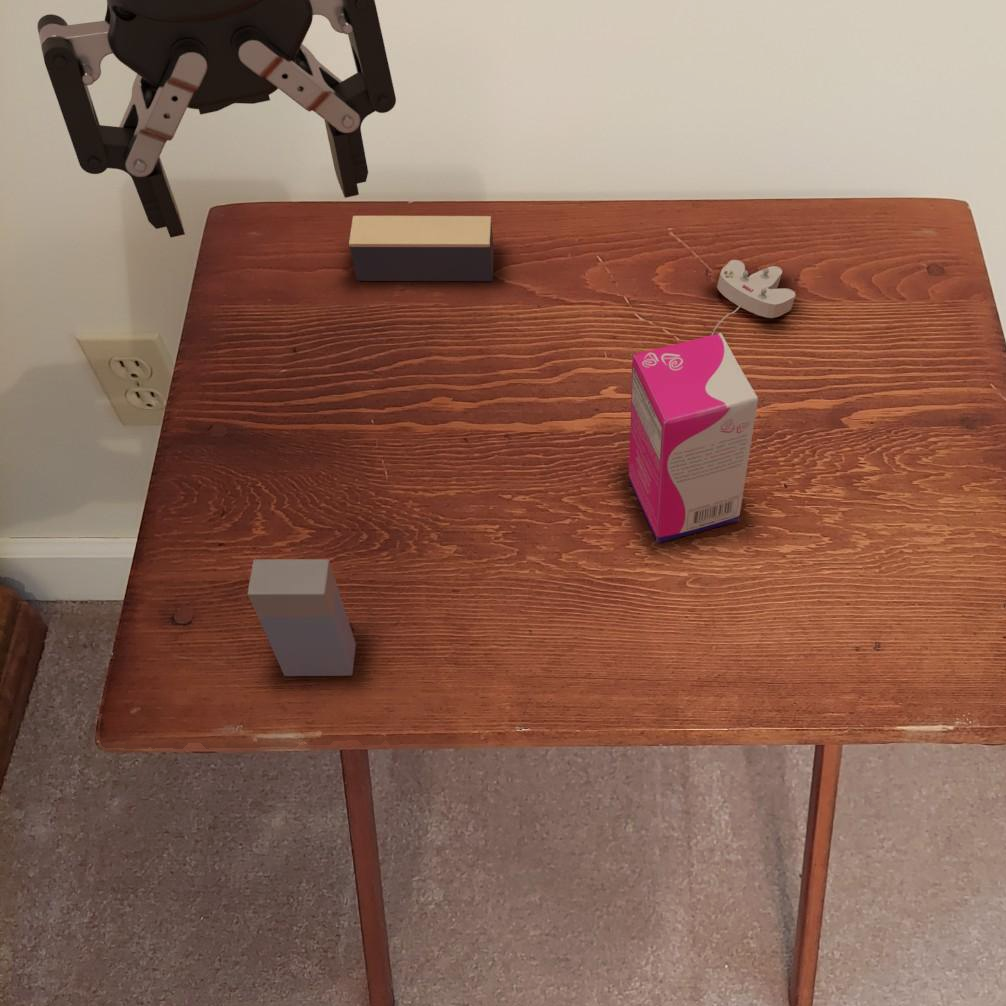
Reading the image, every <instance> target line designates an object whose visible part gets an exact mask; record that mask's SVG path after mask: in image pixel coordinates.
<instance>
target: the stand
mask: <svg viewBox="0 0 1006 1006" xmlns="http://www.w3.org/2000/svg"><path fill="white" fill-rule="evenodd" d="M348 246H349V250H350V255H351V260H352V264H353V270H354V275H355V279H356V281H357V282H493V279H494V278H493V277H494V260H495V249H494V248H495V247H494V237H493V222H492V216H491V215H352V221H351V226H350V233H349V241H348Z"/></svg>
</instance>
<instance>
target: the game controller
mask: <svg viewBox="0 0 1006 1006" xmlns="http://www.w3.org/2000/svg"><path fill="white" fill-rule="evenodd" d="M782 275H783V269H782V268H781V267H779V266H777V265H772V266H768V267H765V268H763V269H761V270H759V271H756V272H754V273H752V274H750V275H749V271H748V270H746V266H745V263H744V262H743V261H742V260H738V259H731V260H729V261H728V263H726V264H725V265H724V266H723V267H722V269H721V271H720V273H719V277H718V280H717V281H718V282H717V285H716V288H717V290H718V291H719V293H720V294H721V295H722V296H723V297H724V298H726V300H727V299H728V300H729V302H731V303H733V304H734V305H736V306H738V307H737V308H735V310H734V311H732V312H728V313H726V315H724V316H723V317H722V318H721V319H720V321H718V323H717V324H716V325H715V327H714V328H713V330H712V333H711V335H715V331H716V329H717V328H718V327H719V326H720V324H721V323H722V322H723V321H724V320H725V319H726V318H727V317H728V316H730V315H733V314H735V313H736V312H737V311H738V310H739V309H740V308H742V309H744V310H745V311H747V312H749V313H752V314H754V315H756V316H759V317H764V318H767V319H775V318H778V317H781V316H783V315H784V314H787V313H788V312H790V311H792V308H793V305H794V301H795V298H796V293H795V291H794V290H793V289H790V288H778V287H779V284H780V281H781V277H782Z"/></svg>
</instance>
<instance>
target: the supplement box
mask: <svg viewBox="0 0 1006 1006" xmlns="http://www.w3.org/2000/svg"><path fill="white" fill-rule="evenodd" d="M630 388H631V390H630V391H631V393H630V425H629V426H630V428H629V453H628V454H629V455H628V456H629V457H628V479H629V482H630V484H631V486H632V489H633V491H634V494H635V496H636V498H637V500H638V502H639V505H640V507H641V510H642V512H643V514H644V516H645V519H646V521H647V523H648V525H649V527H650V530H651V532H652V534H653V536H654V539H655V541H656V542H657V543H664V542H667V541H668V542H669V541H671V540H675V539H679V538H682V537H686V536H689V535H694V534H697V533H700V532H703V531H708V530H711V529H715V528H718V527H722V526H725V525H729V524H732V523H733V524H734V523H737V522H739V521H740V516H741V512H742V511H741V510H742V503H743V496H744V491H745V486H746V479H747V472H748V467H749V460H750V453H751V447H752V441H753V433H754V427H755V421H756V416H757V410H758V404H759V402H758V401H759V397H758V395H757V394H756V392H755V390H754V389H753V387H752V385H751V383H750V382H749V380H748V378H747V376H746V374H745V373H744V371H743V369H742V368H741V366H740V364H739V363H738V360H737V359H736V357H735V355H734V353H733V352H732V350H731V348H730V346H729V344H728V342H727V340H726V339H725V337H724V335H723V333H722V332H718V333H714V334H713V335H712V334H710V335H707V336H702V337H698V338H695V339H691V340H687V341H682V342H678V343H676V344H670V345H667V346H662V347H659V348H658V347H657V348H654V349H650V350H646V351H643V352H639V353H634V354H633V355H632V359H631V387H630Z"/></svg>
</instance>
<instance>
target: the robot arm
mask: <svg viewBox="0 0 1006 1006" xmlns="http://www.w3.org/2000/svg"><path fill="white" fill-rule="evenodd" d="M314 16H322V17H324V18H326V19H327V20H328V22H329V24H330V26H331V28H332V29H333V31H335V32H337V33H340V34H344V35H347V36H348V40H349V44H350V48H351V52H352V57H353V61H354V64H355V69H356V73H354V74H352V75H350V76H349V77H347V78H346V79H344V80H342V79H340V78H339V77H338V76H337V75H336V74H334V73H333V72H331V70H329V68H327V67H326V66H325V65H323V64H322V63H321V62H320V61H319V60H318V59H317V58H316V56H315V55H314V54H313V53H312V52H311V50H310V49H308V47H307V46H305V45H304V44H303V43H304V40H305V38H306V36H307V34H308V33H309V32H308V31H309V30H310V28H311V26H312V23H313V18H314ZM36 28H37V32H38V37H39V42H40V49H41V52H42V58H43V62H44V65H45V68H46V71H47V73H48V74H47V75H48V77H49V80H50V84H51V86H52V89H53V91H54V94H55V97H56V100H57V104H58V106H59V109H60V112H61V114H62V115H61V116H62V118H63V120H64V123H65V126H66V129H67V132H68V135H69V137H70V140H71V144H72V146H73V149H74V152H75V155H76V158H77V161H78V163H79V166H80V168H81V169H82V170H83V171H84V172H85V173H88V174H90V175H99V174H102V173H105V171H107V169H114V170H120V171H122V172H124V173H126V174H128V175H129V176H130V178H131V179H132V182H133V184H134V188H135V189H136V192H137V195H138V197H139V201H140V202H141V206H142V208H143V210H144V214H145V215H146V218H147V220H148V222H149V224H151V226H152V227H154V228H155V229H156V230H158V229H163V228H166V231H167V232H168V235H169V237H170V238H175V237H180V236H184V235H186V233H185V229H184V225H183V222H182V219H181V218H182V217H181V214H180V211H179V208H178V205H177V202H176V199H175V197H174V193H173V190H172V187H171V185H170V182H169V179H168V177H167V174H166V171H165V168H164V165H163V162H162V160H161V157H160V156H161V154H162V152H163V149H164V148H165V145H166V143H167V142H168V141H172V140H173V138H174V137H175V134H176V132H177V130H178V128H179V126H180V124H181V122H182V119H183V117H184V115H185V113H186V111H187V109H191V110H192V109H193V110H198V111H199V115H200V116H201V115H205V114H211V113H215V112H218V111H222V110H223V109H225V108H227V107H229V106H232V105H235V104H247V105H249V104H251V105H253V104H259V103H264V102H269V101H271V98H270V95H271V94H273V93H275V92H276V91H277V90H280V92H282V93H284V94H285V95H286V96H288V97H289V98H290V99H291V100H293V101H294V102H295V103H297V104H298V105H299V106H300V107H302V108H303V109H304V110H306V111H308V112H314V113H315V114H316V115H318V116H319V117H320V118H321V119H323V121H324V124H325V129H326V135H327V140H328V143H329V149H330V154H331V159H332V163H333V168H334V172H335V176H336V179H337V181H338V184H339V187H340V189H341V192H342V195H343V197H344V198H345V199H347V198H353V197H357V196H359V195H360V194H359V187H358V184H362V183H366V182H367V178H368V175H369V169H368V163H367V157H366V152H365V146H364V141H363V136H362V135H363V134H362V129H361V128H362V123H363V121H364V120H365V119H366V118H367V117H368V116H369V115H371V114H373V113H375V112H376V113H379V114H385V113H388V112H390V111H391V110H393V109H394V107H395V106H396V103H397V97H396V93H395V87H394V83H393V79H392V74H391V69H390V65H389V61H388V60H389V59H388V55H387V51H386V47H385V42H384V37H383V32H382V28H381V23H380V18H379V14H378V9H377V5H376V1H375V0H106V12H105V16H104V20H99V21H92V22H84V23H75V24H68V22H67V21H66V20H65V19H64V18H63V17H62V16H59V15H57V14H50V13H49V14H45V15H43V16H41V17H40V18H39V20H38V22H37V27H36ZM112 54H113V55H114V57H115V58H116V59H117V60H118V61H119V62H120V63H122V64H123V65H125V67H127V68H128V69H130V70H131V71H133V72H134V73H135V74H136V76H135V79H134V80H133V84H132V88H131V97H130V100H129V103H128V105H127V108H126V110H125V112H124V113H123V117H122V119H121V122H120V124H119V126H115V125H114V126H112V125H105V124H103V125H102V124H100V121H99V117H98V115H97V111H96V109H95V105H94V102H93V99H92V97H91V96H92V95H91V93H90V90H89V86H92V85H93V84H94V83H95V82H96V81H97V80H99V78H101V75H102V69H101V65H102V61H103V60H104V58H106V56H108V55H112Z"/></svg>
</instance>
